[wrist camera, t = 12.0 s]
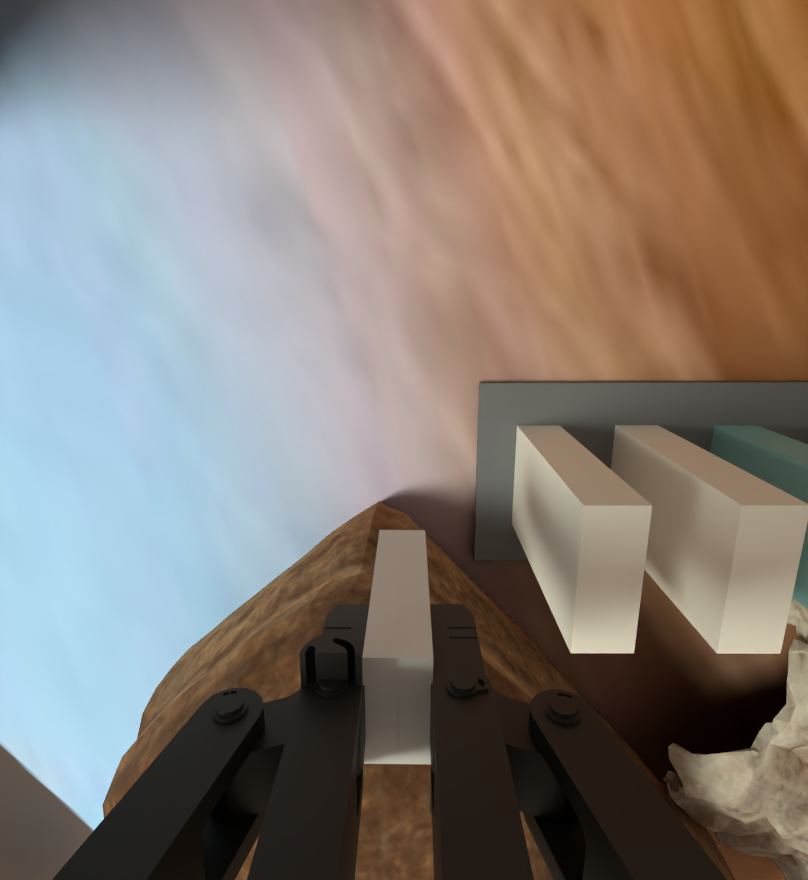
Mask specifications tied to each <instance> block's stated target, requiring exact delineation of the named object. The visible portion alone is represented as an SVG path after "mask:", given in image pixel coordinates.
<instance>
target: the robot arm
mask: <svg viewBox="0 0 808 880" xmlns="http://www.w3.org/2000/svg"><path fill="white" fill-rule="evenodd" d="M299 656H300V676H301V688H300V690H298V691H297V692H295V693H293V694H291V695H290V696H287V697H284V698H281V699H277V700H273V701H269V702H264V703H263V699H262V697H261V696H260V695H259V694H258V693H257V692H256V691H253V690H251V689H248V688H232V689H227V690H223V691H221V692H219V693H216V694H214V695H212V696H211V697H210V698H208V699H207V700H206V701H205V702H204V703H203V704H202V705H201V706H200V707H199V708H198V709H197V710H196V712H195V713H194V714H193V715H192V716H191V717H190V719H189V720H188V721H187V722H186V723H185V725H184V726H183V727H182V728H181V729H180V730H179V732H178V733H177V734H176V735H175V736H174V737H173V739H172V740H171V741H170V742H169V743H168V744H167V746H166V747H165V748H164V749H163V750H162V751H161V753H160V754H159V755H158V756H157V757H156V759H155V760H154V761H153V762H152V763H151V764H150V766H149V767H148V768H147V769H146V770H145V771H144V773H143V774H142V775H141V776H140V777H139V778H138V780H137V781H136V782H135V783H134V784H133V785H132V787H131V788H130V789H129V790H128V791H127V793H126V794H125V795H124V796H123V797H122V798H121V800H120V801H119V802H118V803H117V804H116V805H115V807H114V808H113V809H112V810H111V811H110V812H109V814H108V815H107V816H106V817H105V818H104V820H103V821H102V822H101V823H100V824H99V825H98V827H97V828H96V829H95V830H94V831H93V832H92V834H91V835H90V836H89V837H88V838H87V840H86V841H85V842H84V843H83V844H82V845H81V846H80V848H79V849H78V850H77V851H76V852H75V854H74V855H73V856H72V857H71V858H70V859H69V861H68V862H67V863H66V864H65V865H64V866H63V868H62V869H61V870H60V871H59V872H58V873H57V875H56V876H55V877H54V878H53V879H52V880H235V879H236V877H237V875H238V873H239V871H240V869H241V868H242V866H243V864H244V862H245V860H246V858H247V856H248V855H249V853H250V851H251V849H252V847H253V845H254V843H255V841H256V840H257V838H258V836H259V838H258V841H257V845H256V849H255V852H254V856H253V859H252V863H251V866H250V870H249V874H248V877H247V880H355V870H356V859H357V849H358V838H359V827H360V817H361V806H362V795H363V762H364V764H431V785H430V814H432V838H433V864H434V880H534V878H533V873H532V868H531V863H530V859H529V854H528V849H527V844H526V840H525V835H524V830H523V825H522V821H521V816H520V811H521V812H523V814H524V818H525V822H526V824H527V826H528V828H529V830H530V832H531V834H532V836H533V838H534V840H535V842H536V845H537V847H538V849H539V851H540V853H541V855H542V857H543V859H544V861H545V863H546V865H547V868H548V870H549V872H550V874H551V876H552V878H553V880H727V879H726V878H725V876H724V875H723V874H722V873H721V871H720V870H719V869H718V867H717V866H716V865H715V864H714V862H713V861H712V860H711V858H710V857H709V856H708V855H707V853H706V852H705V851H704V849H703V848H702V847H701V846H700V844H699V843H698V842H697V840H696V839H695V838H694V837H693V835H692V834H691V833H690V831H689V830H688V829H687V828H686V826H685V825H684V824H683V822H682V821H681V820H680V819H679V817H678V816H677V815H676V813H675V812H674V811H673V810H672V808H671V807H670V806H669V804H668V803H667V802H666V801H665V799H664V798H663V797H662V795H661V794H660V793H659V792H658V790H657V789H656V788H655V786H654V785H653V784H652V783H651V781H650V780H649V779H648V777H647V776H646V775H645V774H644V772H643V771H642V770H641V768H640V767H639V766H638V765H637V763H636V762H635V761H634V760H633V758H632V757H631V756H630V754H629V753H628V752H627V751H626V749H625V748H624V747H623V745H622V744H621V743H620V742H619V740H618V739H617V738H616V736H615V735H614V734H613V733H612V731H611V730H610V729H609V727H608V726H607V725H606V724H605V722H604V721H603V720H602V718H601V717H600V716H599V715H598V713H597V712H596V711H595V709H594V708H593V707H592V706H591V705H590V704H589V703H588V702H587V701H586V700H585V699H584V698H582V697H580V696H578V695H576V694H574V693H572V692H568V691H563V690H546V691H543V692H540V693H538V694H537V695H536V696H535V697H534V698H533V699H532V701H531V704H529V703H525V702H521V701H517V700H514V699H511V698H508V697H506V696H504V695H503V694H501V693H499V692H498V691H497V690H495V689H494V688H493V686H492V684H491V681H490V680H489V679H488V678H487V677H486V674H485V669H484V664H483V659H482V654H481V649H480V644H479V639H478V634H477V629H476V624H475V619H474V615H473V614H472V613H471V612H470V610H469V609H468V608H467V607H466V606H465V605H464V604H430V598H429V583H428V567H427V552H426V536H425V530H379V537H378V545H377V552H376V560H375V567H374V574H373V582H372V589H371V597H370V604H369V605H340V604H337V605H336V606H335V607H334V608H333V609H332V610H331V611H330V612H329V613H328V614H327V616H326V620H325V623H324V629H323V631H322V635H321V637H318V638H315V639H312V640H311V641H309V642H308V643H307V644H305V645H304V646H303V648H302V649H301V651H300V652H299Z"/></svg>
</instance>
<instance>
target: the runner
mask: <svg viewBox="0 0 808 880" xmlns="http://www.w3.org/2000/svg"><path fill="white" fill-rule="evenodd" d="M517 425H560V426H561V427H562V428H563V429H564V430H565V431H567V432H568V433H569V434H570V435H571V436H572V437H574V438H575V439H576V440H577V441H578V442H579V443H581V444H582V445H583V446H584V447H585V448H586V449H587V450H589V451H590V452H591V453H592V454H593V455H594V456H596V457H597V458H598V459H599V460H600V461H601V462H602V463H604V464H605V465H606V466H607V467H608V468H609V469H611V462H612V452H613V442H614V432H615V425H658V426H660V427H662V428H664V429H666V430H668V431H670V432H672V433H674V434H676V435H677V436H679V437H681V438H683V439H685V440H687V441H689V442H691V443H693V444H695V445H697V446H698V447H700V448H702V449H704V450H706V451H708V452H710V450H711V444H712V437H713V431H714V425H757V426H760V427H763V428H765V429H768V430H771V431H773V432H776V433H779V434H781V435H784V436H787V437H789V438H792V439H795V440H797V441H800V442H803V443H805V444H808V381H711V382H479V409H478V439H477V469H476V499H475V529H474V561H528V558H527V556H526V554H525V552H524V550H523V547H522V545H521V543H520V541H519V539H518V536H517V534H516V532H515V530H514V528H513V525H512V510H513V491H514V472H515V453H516V434H517Z"/></svg>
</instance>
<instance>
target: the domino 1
mask: <svg viewBox="0 0 808 880" xmlns="http://www.w3.org/2000/svg"><path fill="white" fill-rule="evenodd" d="M651 513H652V505H651V504H650V503H649V502H648V501H646V500H645V499H644V498H643V497H642V496H641V495H640V494H638V493H637V492H636V491H635V490H634V489H633V488H631V487H630V486H629V485H628V484H627V483H626V482H624V481H623V480H622V479H621V478H620V477H619V476H618V475H616V474H615V473H614V472H613V471H612V470H611V469H609V468H608V467H607V466H606V465H605V464H604V463H602V462H601V461H600V460H599V459H598V458H597V457H596V456H594V455H593V454H592V453H591V452H590V451H589V450H587V449H586V448H585V447H584V446H583V445H582V444H581V443H579V442H578V441H577V440H576V439H575V438H574V437H572V436H571V435H570V434H569V433H568V432H567V431H565V430H564V429H563V428H562V427H561V426H560V425H517V434H516V453H515V472H514V491H513V510H512V525H513V528H514V530H515V532H516V534H517V536H518V539H519V541H520V543H521V545H522V547H523V550H524V552H525V554H526V556H527V558H528V561H529V563H530V565H531V567H532V569H533V572H534V574H535V576H536V578H537V580H538V583H539V585H540V587H541V589H542V592H543V594H544V596H545V598H546V600H547V603H548V605H549V607H550V609H551V611H552V614H553V616H554V618H555V620H556V622H557V625H558V627H559V629H560V631H561V633H562V636H563V638H564V640H565V642H566V644H567V647H568V649H569V651H570V653H634V649H635V641H636V633H637V625H638V617H639V609H640V601H641V593H642V585H643V577H644V569H645V561H646V553H647V545H648V537H649V529H650V521H651Z"/></svg>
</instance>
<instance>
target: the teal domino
mask: <svg viewBox="0 0 808 880" xmlns="http://www.w3.org/2000/svg"><path fill="white" fill-rule="evenodd" d="M710 453H712V454H714V455H716V456H718V457H719V458H721V459H723V460H725V461H727V462H729V463H731V464H733V465H735V466H737V467H738V468H740V469H742V470H744V471H746V472H748V473H750V474H752V475H754V476H756V477H758V478H759V479H761V480H763V481H765V482H767V483H769V484H771V485H773V486H775V487H777V488H779V489H780V490H782V491H784V492H786V493H788V494H790V495H792V496H794V497H796V498H798V499H800V500H801V501H803V502H805V503H807V504H808V444H805V443H803V442H800V441H797V440H795V439H792V438H789V437H787V436H784V435H781V434H779V433H776V432H773V431H771V430H768V429H765V428H763V427H760V426H757V425H714V431H713V437H712V444H711V450H710ZM792 598H793V599H795V600H796V601H797V602H798V603H800V604H801V605H802V606H803V607H805V608H806V609H807V610H808V523H807V528H806V532H805V537H804V542H803V547H802V552H801V557H800V562H799V566H798V571H797V576H796V581H795V586H794V591H793V596H792Z"/></svg>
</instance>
